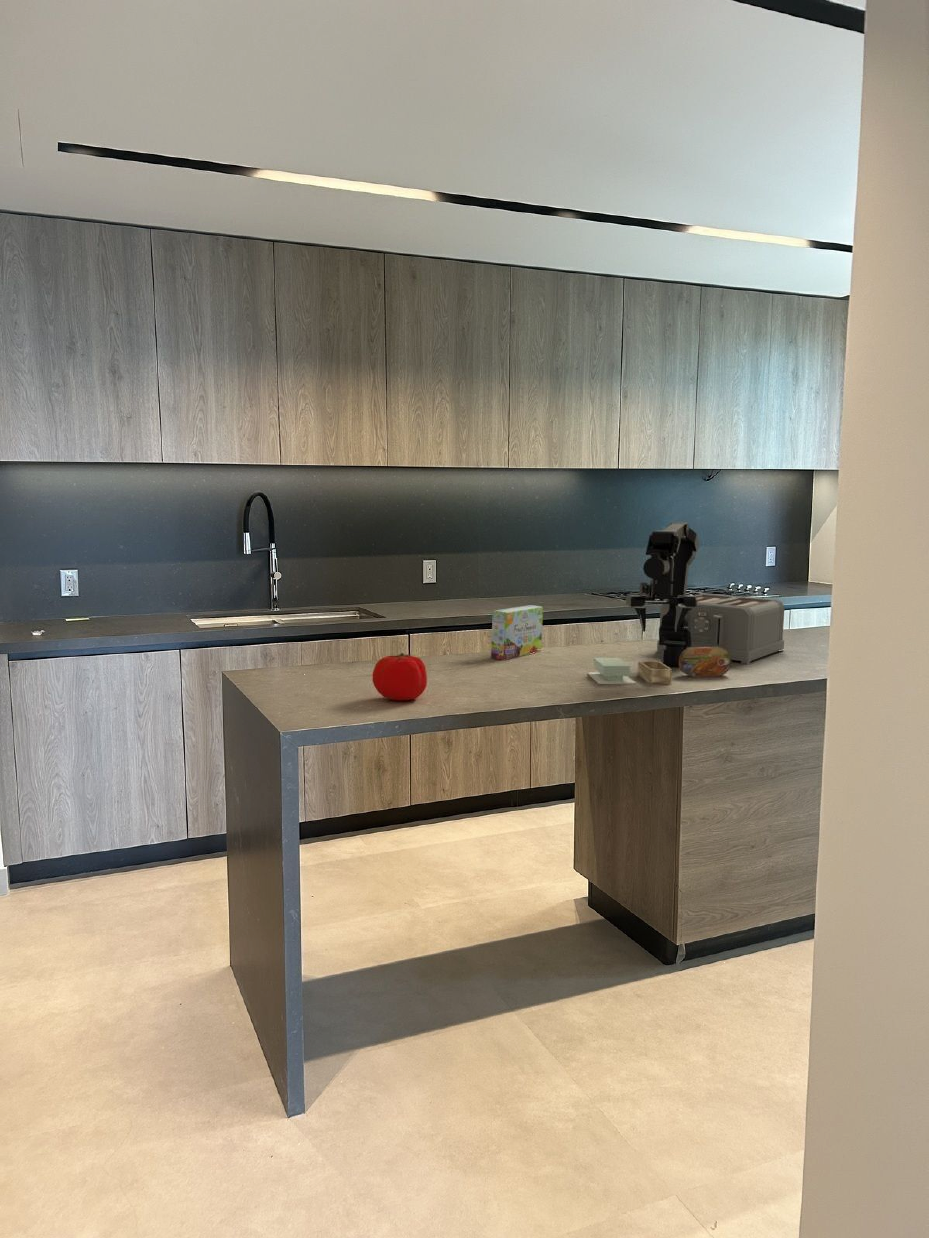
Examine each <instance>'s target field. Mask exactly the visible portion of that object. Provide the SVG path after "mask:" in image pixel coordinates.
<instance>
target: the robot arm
mask: <svg viewBox="0 0 929 1238" xmlns="http://www.w3.org/2000/svg"><path fill="white" fill-rule="evenodd" d="M698 551H699V538H698V534H697V533H696V532H695V531H694V529H692V528H691V527H690V525H689V523H688V522H681V521H673V522H670V524H669V525H668V527H666V528H664V529H663V530H660V529H658V530H657V529H655V530H653V531H652V532H651V533H650V534H649V537H648V541H647V546H646V551H645V555H646V556H650V557H649V558H647V560H645V562H644V564H643V567H642V568H643V573H644V575H645V576H646V577H648V578H649V579H650V583H649V584H648V582H640V583H639V594H628V595H627V596H626V598H625V604H626V606H628V607H630V608H631V609H632V610H635V613H636V615H637V617H638V620H639V623H640V628H641V630H642V632H643V633H644V632H646V627H647V625H646V624H647V608H646V607H645V605H662V604H669V611H668V612H667V613H666V615H664V616H663V617H662V624H661V625H660V624H659V627H658V641H659V645H663V649H662V650H661V653H660V662H661V663H663V664H664V665H666V666H667V667H669V668H680V667H679V657H680V655H681V653H682V652H683V651H684V650H686V648H687V647H691V643H692V640H691V632H690V630H689V627H688V621H687V619H686V617H685V616H686V614H687V612H688V611H689V610H692V608H690V607H697V599H696V597H694V596H695V595H691V594H687V586H688V579H689V577H688V576H689V569H690V565H691V564H692V563H693V561H694V560H695V559H696V554H697V552H698ZM673 641H676V642H673ZM684 641H685V642H684Z"/></svg>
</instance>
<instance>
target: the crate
mask: <svg viewBox="0 0 929 1238" xmlns="http://www.w3.org/2000/svg"><path fill="white" fill-rule="evenodd" d="M672 674H673V670H672V667H667V666H666V665H664V664H663V663H661V661H659V660H658V661H657V660H649V661H648V660H644V661H643V660H638V661H637V676H638V677H639V678H641V679H642V680H644V681H645V682H646V681H647V682H646V683H647V684H649V685H659V684H660V685H670V684H672V677H673V675H672Z"/></svg>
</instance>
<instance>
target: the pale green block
mask: <svg viewBox="0 0 929 1238" xmlns="http://www.w3.org/2000/svg"><path fill="white" fill-rule="evenodd" d="M592 666H593V669H595V671H597V672H599V673H600V674H601V675H602V676H603V677H604V678H605V679H606V680H607V681H623V676H628V677H630V676H631V674H630V673H631V666H630V665H629V664H628V663H627V662H625V661H624V660H622V658H620V657H593V665H592Z"/></svg>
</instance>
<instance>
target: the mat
mask: <svg viewBox="0 0 929 1238" xmlns="http://www.w3.org/2000/svg"><path fill="white" fill-rule="evenodd" d="M588 674H589V675H588ZM587 675H588V676H590V677H591V678H592V679H593V681H595V682H596V683H597V684H598V685H635V684H636V681H635V680H633V679H632V678H630V676H623V681H607V680H606V679H605V678H604V677H603V676H602V675H601V674H600V673H599V672H598V671H597V672H593V671H592V672H591V671H590V672H587Z"/></svg>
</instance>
